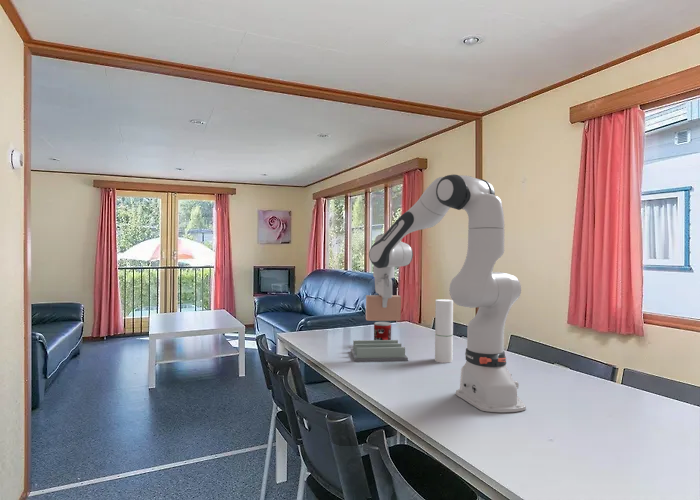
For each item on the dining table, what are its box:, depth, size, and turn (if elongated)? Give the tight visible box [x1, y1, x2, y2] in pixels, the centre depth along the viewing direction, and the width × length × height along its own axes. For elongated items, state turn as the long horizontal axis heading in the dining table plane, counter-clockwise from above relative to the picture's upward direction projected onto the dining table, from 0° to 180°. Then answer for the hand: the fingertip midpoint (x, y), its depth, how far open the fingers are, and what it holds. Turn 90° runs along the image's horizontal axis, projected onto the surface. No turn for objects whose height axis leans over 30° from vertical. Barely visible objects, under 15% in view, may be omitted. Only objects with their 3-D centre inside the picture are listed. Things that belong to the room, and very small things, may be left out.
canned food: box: [373, 321, 392, 340], centre depth 202 cm, size 8×8×11 cm
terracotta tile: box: [365, 294, 402, 322], centre depth 178 cm, size 4×14×10 cm, turn 96°
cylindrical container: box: [434, 298, 454, 364], centre depth 177 cm, size 7×7×25 cm
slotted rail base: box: [350, 339, 409, 363], centre depth 184 cm, size 17×22×5 cm
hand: (383, 306), depth 178 cm, fingers closed on terracotta tile, 4 cm apart
